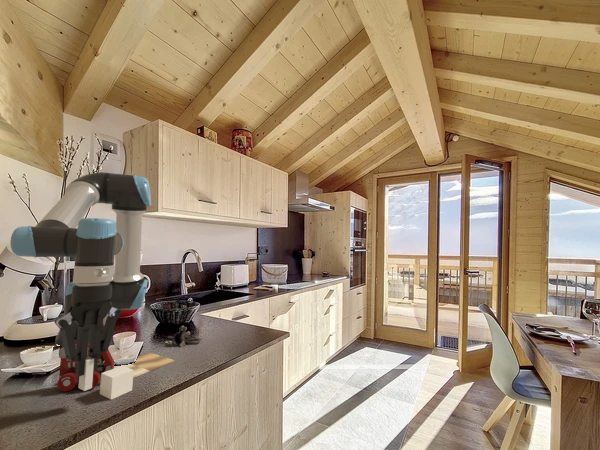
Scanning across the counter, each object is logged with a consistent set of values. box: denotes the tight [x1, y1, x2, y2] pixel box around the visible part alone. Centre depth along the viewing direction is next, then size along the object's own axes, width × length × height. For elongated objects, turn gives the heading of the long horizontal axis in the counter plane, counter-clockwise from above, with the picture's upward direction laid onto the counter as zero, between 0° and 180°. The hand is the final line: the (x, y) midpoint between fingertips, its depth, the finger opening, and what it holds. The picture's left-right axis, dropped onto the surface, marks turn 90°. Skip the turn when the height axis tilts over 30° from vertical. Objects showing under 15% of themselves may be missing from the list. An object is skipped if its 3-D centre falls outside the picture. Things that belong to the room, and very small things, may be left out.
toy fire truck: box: [57, 343, 115, 392], centre depth 72 cm, size 7×12×10 cm, turn 103°
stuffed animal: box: [164, 325, 203, 348], centre depth 105 cm, size 12×10×12 cm
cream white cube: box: [99, 366, 134, 400], centre depth 69 cm, size 5×5×5 cm
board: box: [114, 352, 176, 379], centre depth 83 cm, size 13×17×1 cm
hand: (85, 387), depth 63 cm, fingers closed
